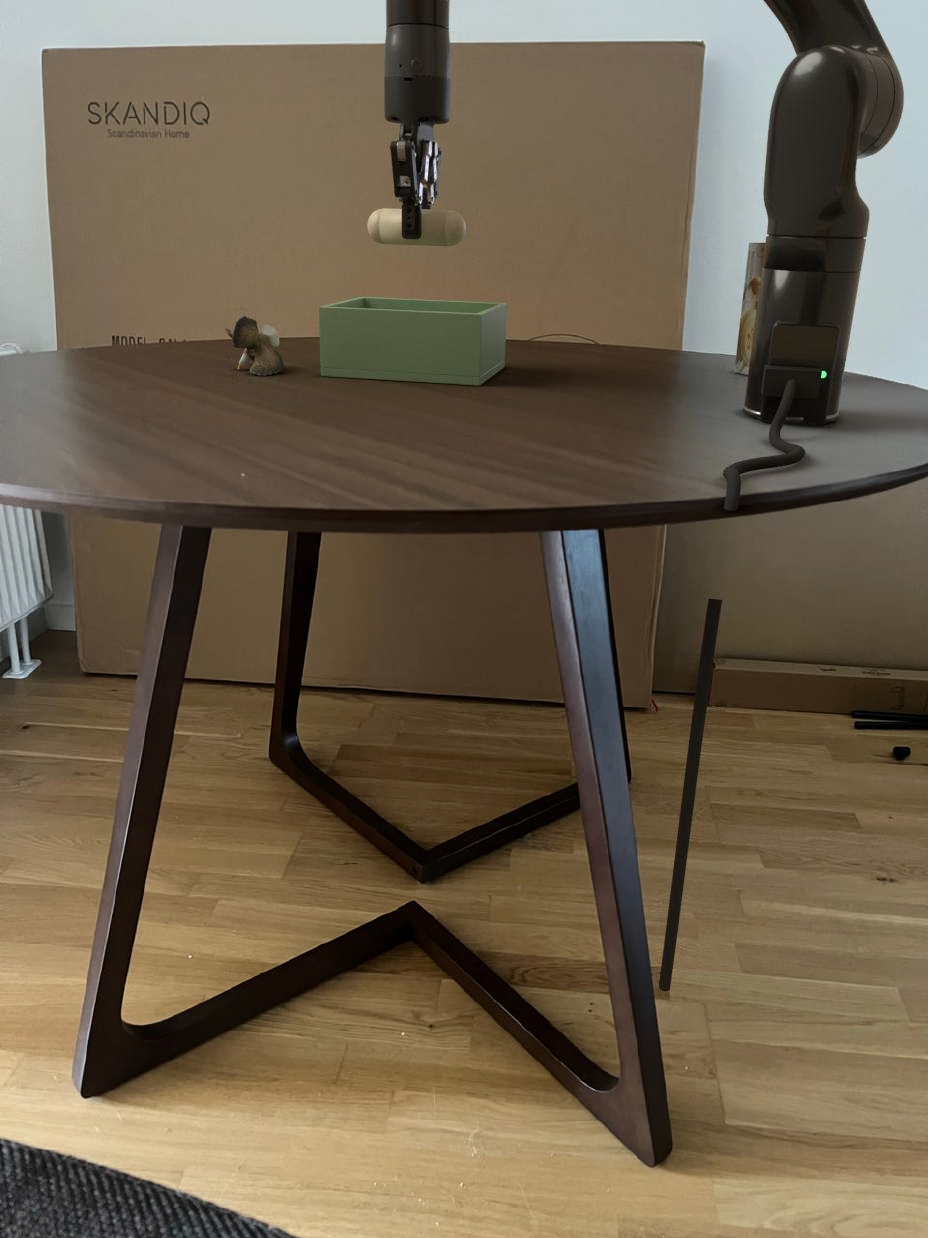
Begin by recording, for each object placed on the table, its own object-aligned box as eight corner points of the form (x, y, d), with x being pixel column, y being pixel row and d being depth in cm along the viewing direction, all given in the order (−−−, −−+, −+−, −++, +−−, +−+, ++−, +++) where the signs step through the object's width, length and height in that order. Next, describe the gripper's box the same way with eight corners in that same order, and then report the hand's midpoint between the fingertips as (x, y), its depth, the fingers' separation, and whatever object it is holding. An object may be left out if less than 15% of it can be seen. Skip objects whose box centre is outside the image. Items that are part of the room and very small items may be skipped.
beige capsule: (461, 247, 116) (462, 210, 114) (363, 243, 118) (362, 207, 117) (468, 246, 119) (469, 210, 118) (373, 242, 122) (373, 207, 120)
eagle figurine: (209, 356, 124) (218, 352, 116) (236, 306, 125) (247, 298, 116) (263, 388, 128) (275, 386, 119) (289, 339, 128) (304, 334, 119)
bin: (479, 385, 116) (481, 314, 113) (320, 376, 119) (318, 306, 116) (504, 367, 130) (507, 303, 127) (361, 359, 134) (360, 296, 130)
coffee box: (818, 380, 125) (839, 244, 119) (778, 383, 122) (798, 243, 116) (769, 370, 133) (786, 241, 126) (730, 372, 130) (746, 241, 124)
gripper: (403, 82, 119) (403, 236, 126) (365, 67, 106) (368, 238, 113) (464, 82, 118) (460, 237, 124) (433, 67, 105) (431, 240, 111)
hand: (416, 237), depth 118 cm, fingers closed on beige capsule, 4 cm apart
